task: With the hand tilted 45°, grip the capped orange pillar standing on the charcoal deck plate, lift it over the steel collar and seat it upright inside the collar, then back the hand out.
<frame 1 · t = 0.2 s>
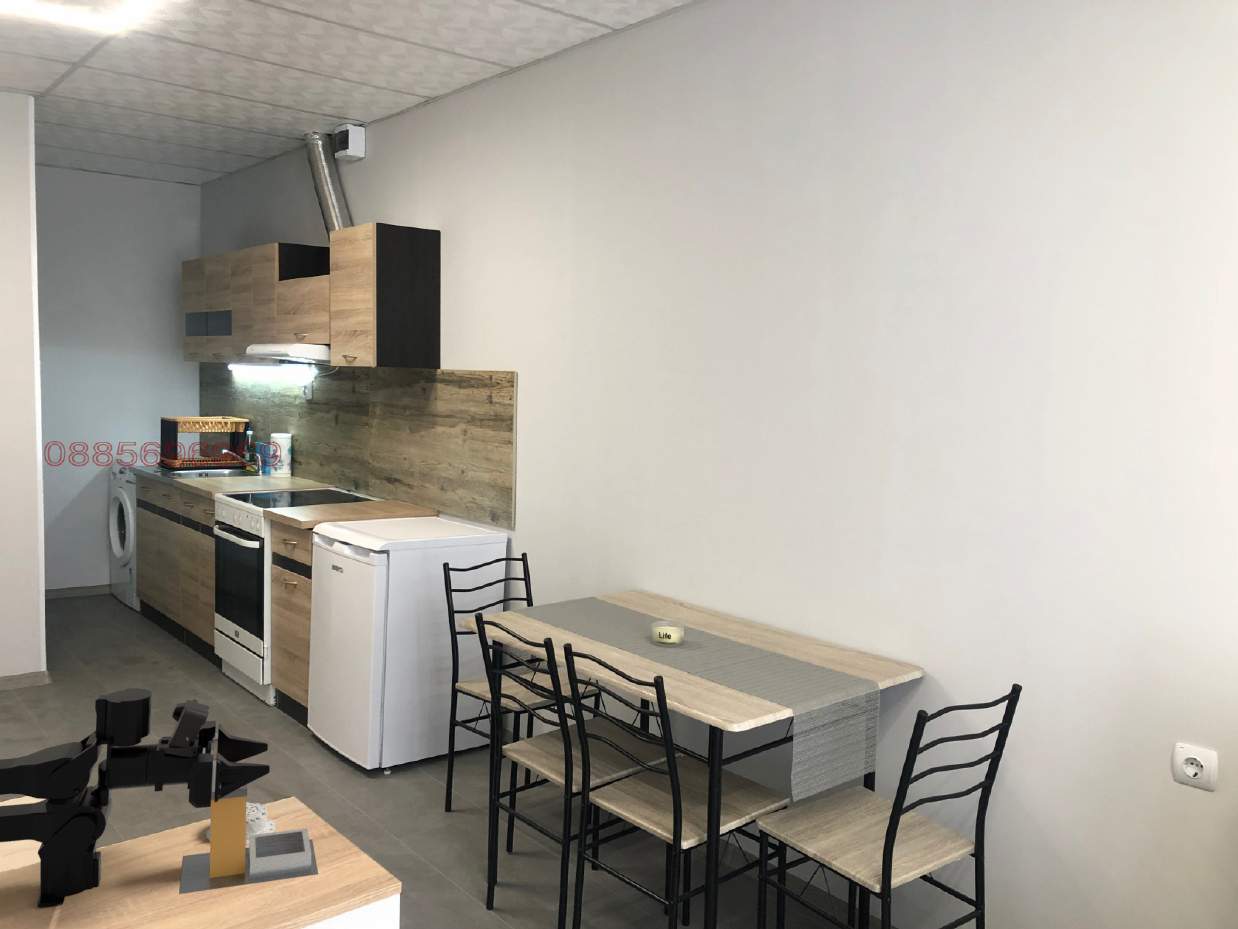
hand: (268, 757, 137), 16 cm above the table, tool horizontal, fingers open, 9 cm apart
capped orange pillar: (227, 868, 135), point 1 cm above the table, touching deck
deck: (249, 871, 136), on the table
mechanical component: (240, 840, 147), on the table
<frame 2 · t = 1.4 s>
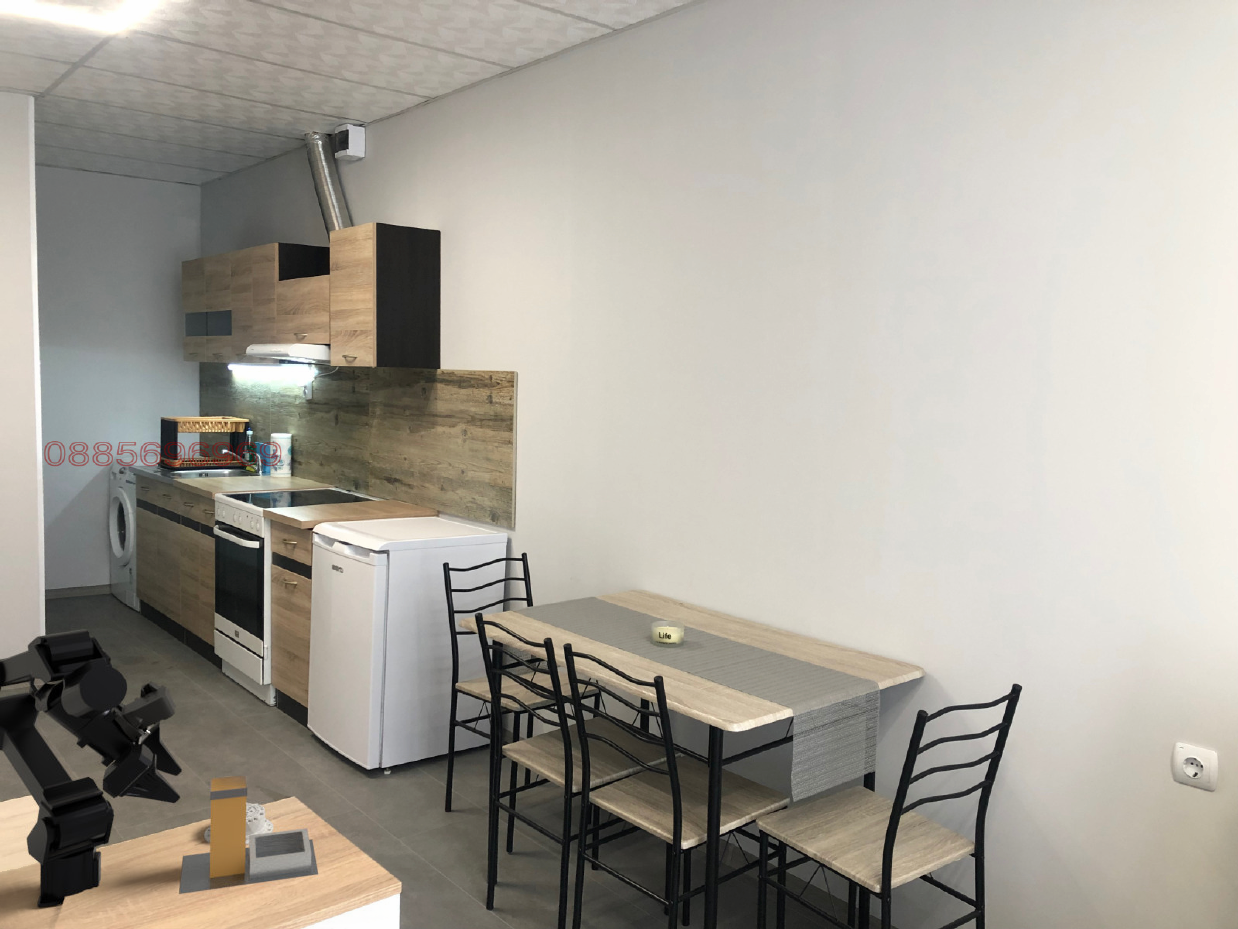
hand: (178, 786, 133), 14 cm above the table, tool tilted 45°, fingers open, 9 cm apart
nothing on the table moved.
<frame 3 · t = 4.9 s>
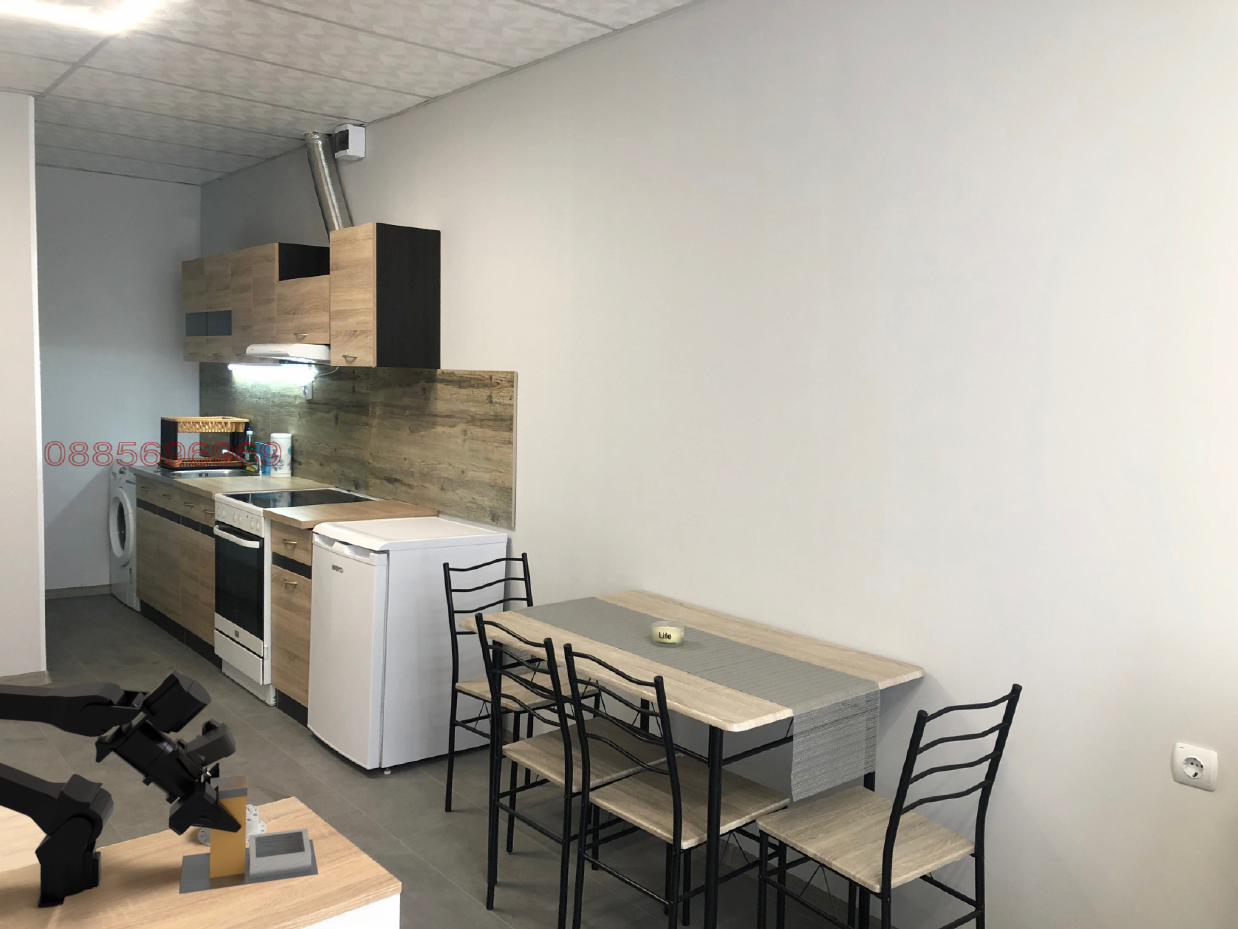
hand: (238, 822, 135), 8 cm above the table, tool tilted 45°, fingers closed on capped orange pillar, 5 cm apart
capped orange pillar: (227, 868, 135), point 1 cm above the table, touching deck, gripper
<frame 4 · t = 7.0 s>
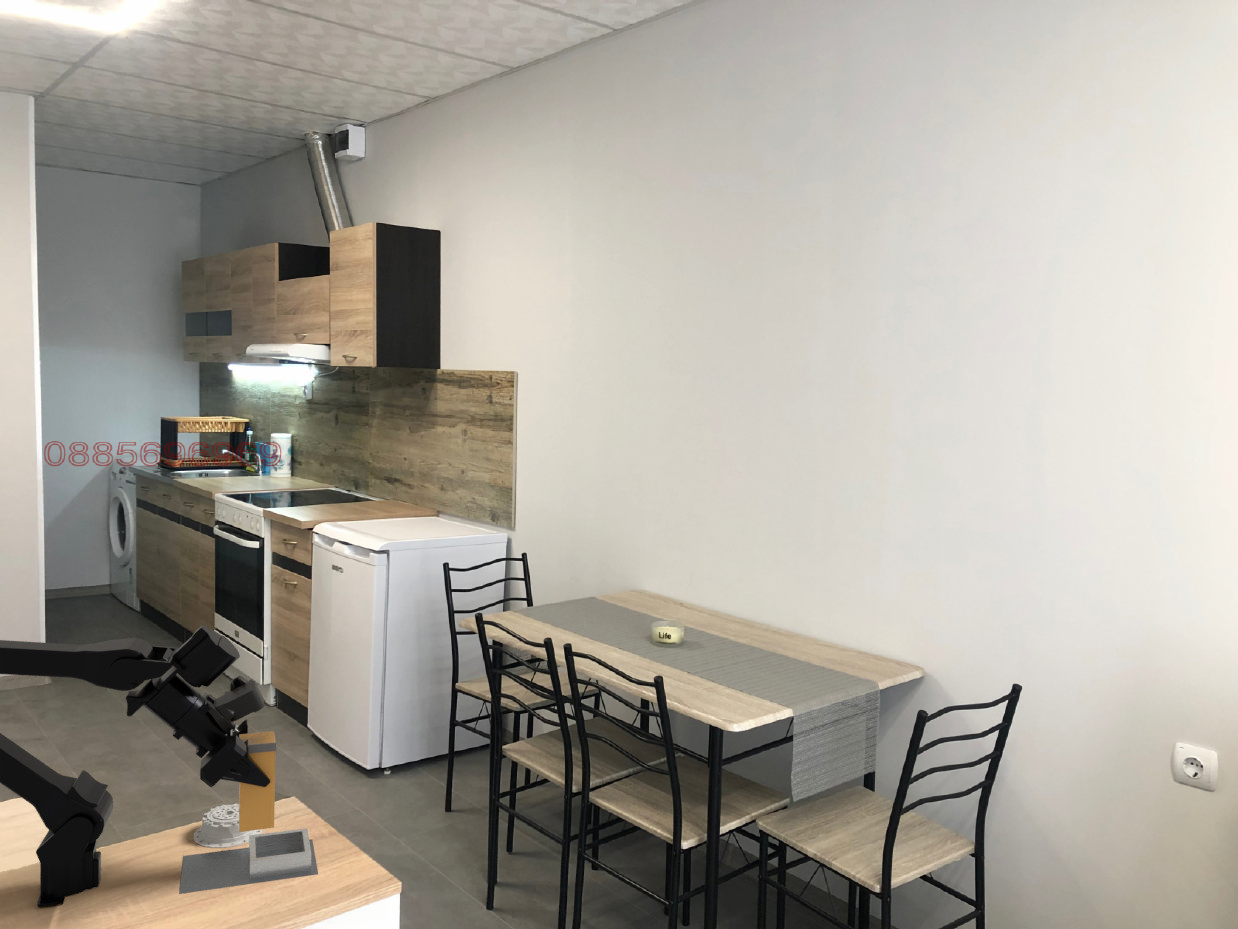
hand: (267, 777, 136), 14 cm above the table, tool tilted 45°, fingers closed on capped orange pillar, 5 cm apart
capped orange pillar: (256, 823, 136), point 7 cm above the table, touching gripper
when the fingers open (9 cm above the table, at t = 9.3 s): capped orange pillar drops 1 cm, resting on deck.
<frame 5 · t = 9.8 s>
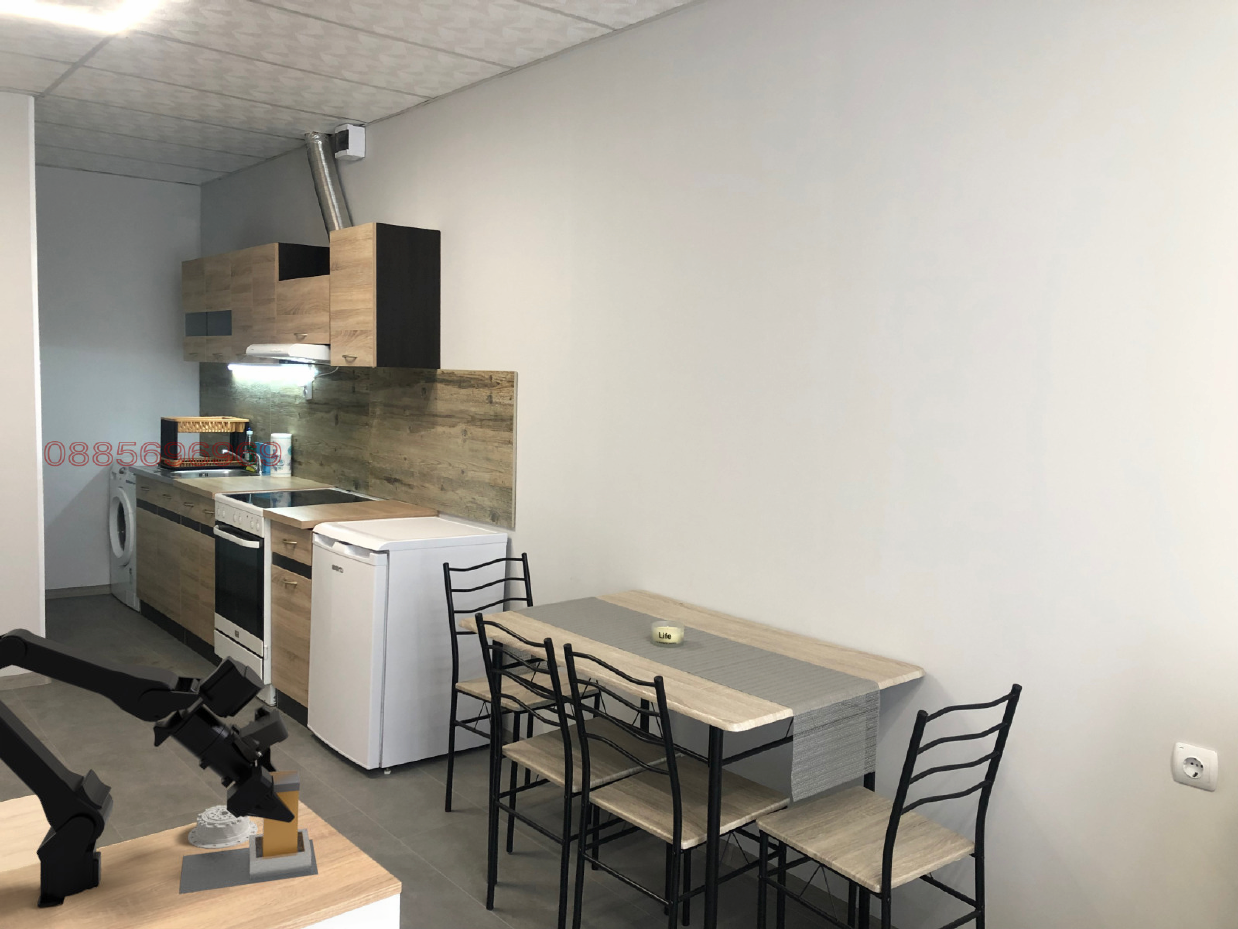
hand: (290, 806, 138), 9 cm above the table, tool tilted 45°, fingers open, 9 cm apart
capped orange pillar: (279, 860, 138), point 1 cm above the table, touching deck
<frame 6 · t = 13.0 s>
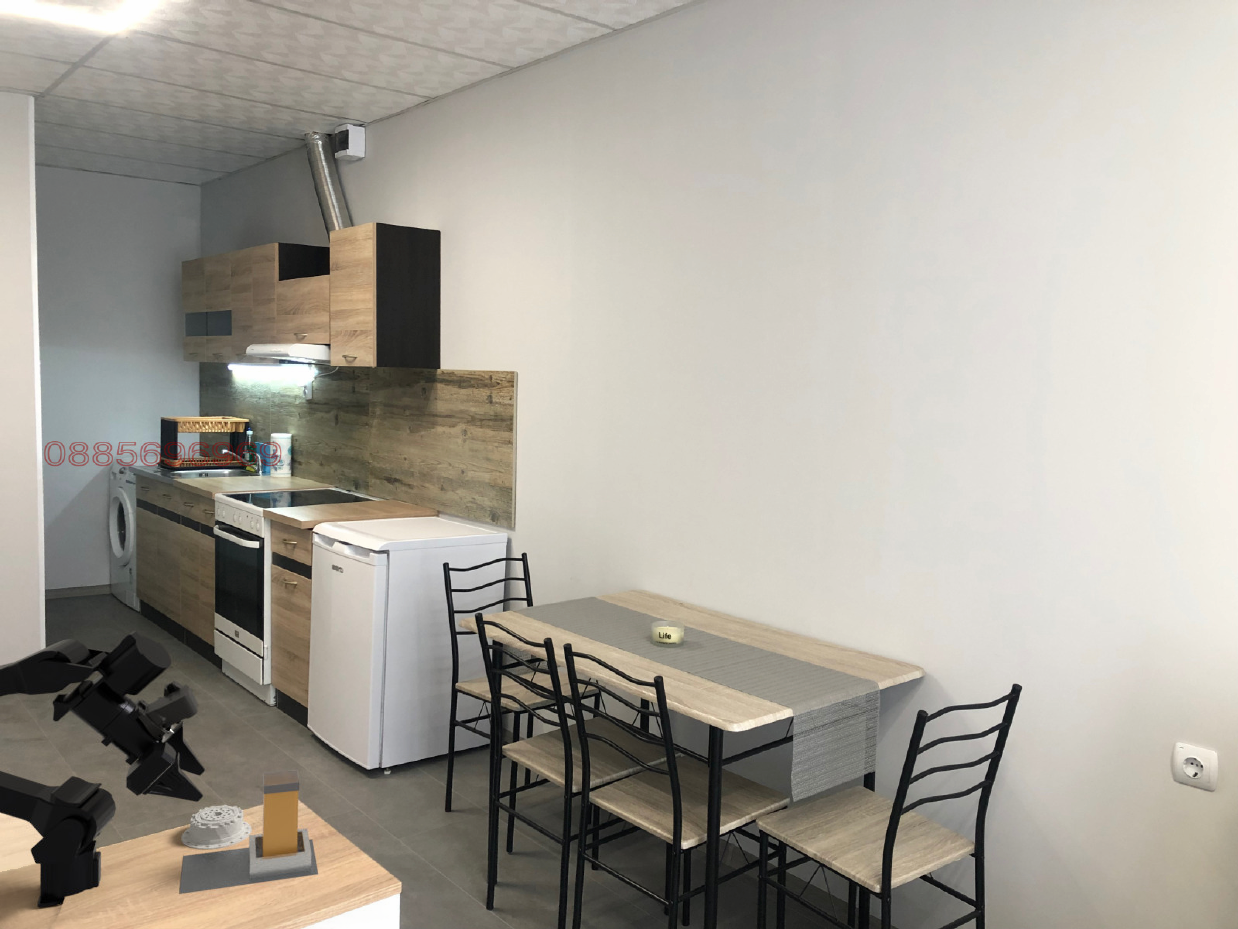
hand: (201, 785, 133), 14 cm above the table, tool tilted 45°, fingers open, 9 cm apart
at the end: capped orange pillar 0.0 cm from the target spot on the deck, point 1.0 cm above the deck's base; capped orange pillar tilted 0°; the gripper is holding nothing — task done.
